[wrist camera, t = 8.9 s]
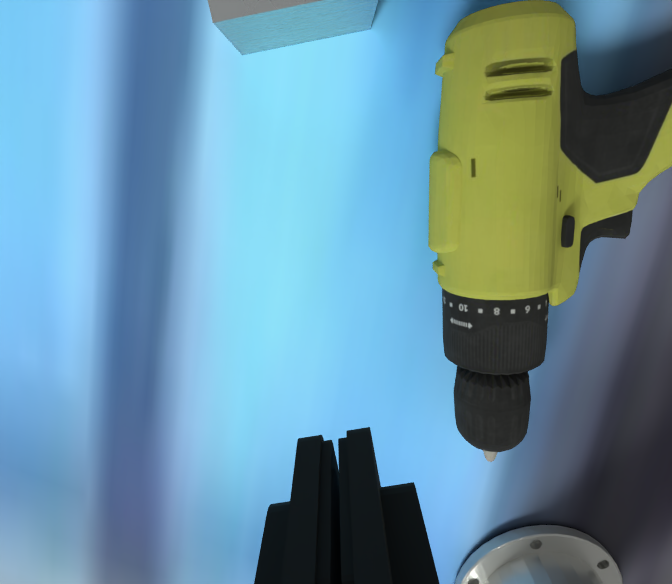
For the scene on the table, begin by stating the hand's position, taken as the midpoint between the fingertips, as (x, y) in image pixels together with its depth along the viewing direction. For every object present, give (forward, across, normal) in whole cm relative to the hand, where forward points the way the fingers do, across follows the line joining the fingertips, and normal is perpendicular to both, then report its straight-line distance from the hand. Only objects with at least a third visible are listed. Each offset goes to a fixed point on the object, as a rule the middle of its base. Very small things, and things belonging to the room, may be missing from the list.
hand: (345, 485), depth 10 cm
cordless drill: (+19, -18, +1) cm, 26 cm away
